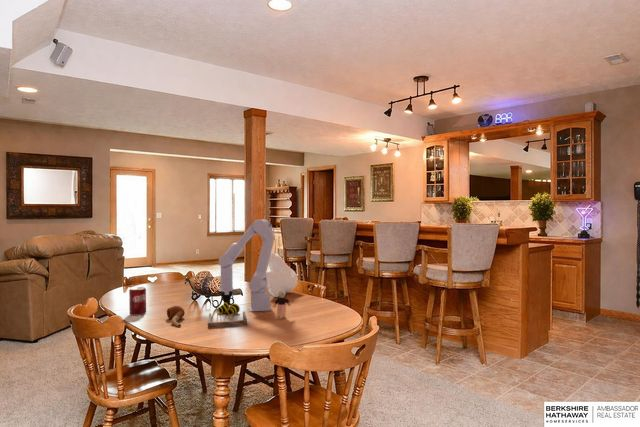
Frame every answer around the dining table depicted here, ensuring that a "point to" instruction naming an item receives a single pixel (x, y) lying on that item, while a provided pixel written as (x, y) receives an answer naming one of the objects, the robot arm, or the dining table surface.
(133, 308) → the soda can
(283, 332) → the dining table surface
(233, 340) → the dining table surface
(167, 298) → the dining table surface
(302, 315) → the dining table surface
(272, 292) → the white rounded lump
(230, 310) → the opera glasses
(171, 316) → the smoking pipe
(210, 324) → the bar
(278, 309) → the grandmother figurine
